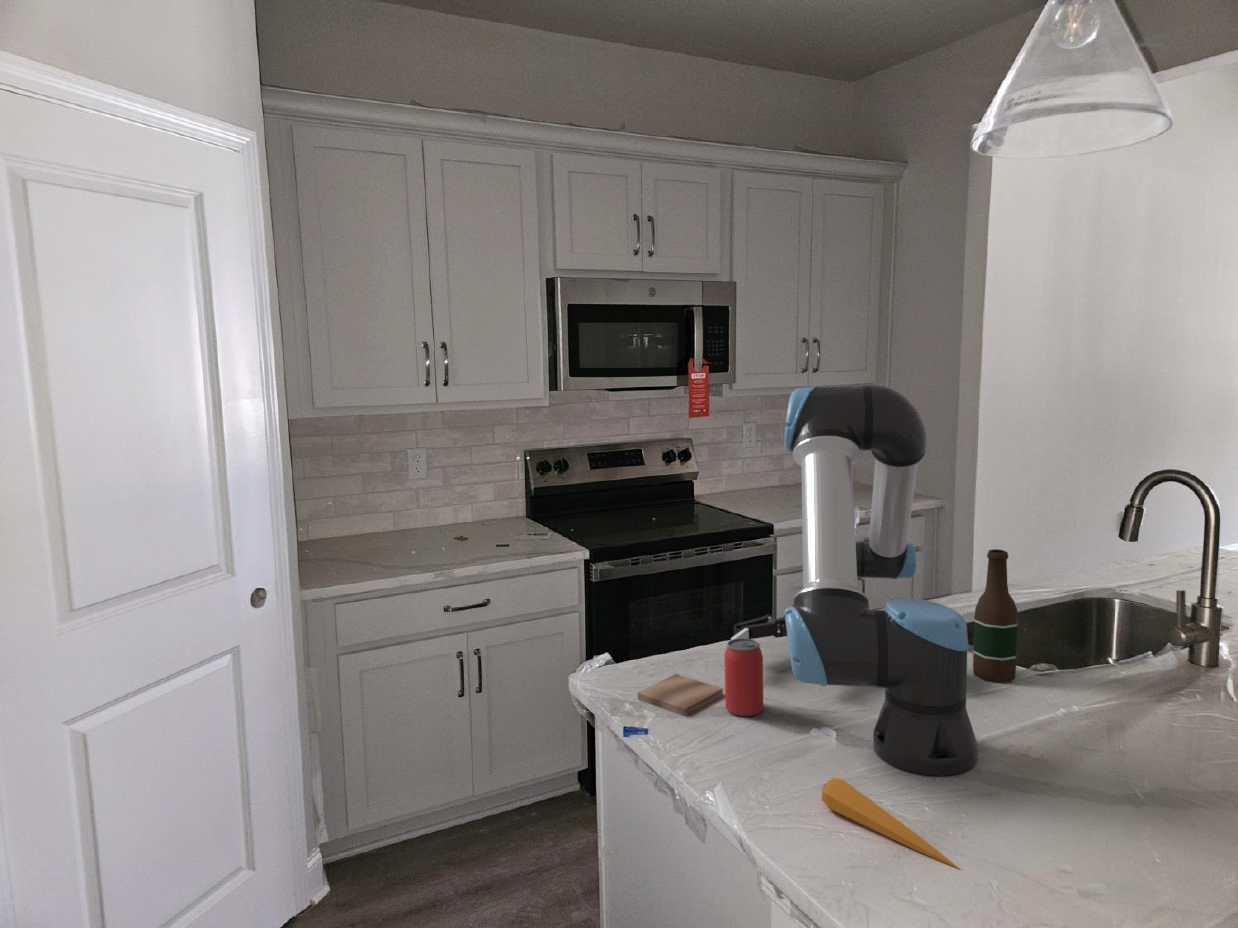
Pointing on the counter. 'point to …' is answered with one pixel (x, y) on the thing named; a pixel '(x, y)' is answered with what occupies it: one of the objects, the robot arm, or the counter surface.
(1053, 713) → the counter surface
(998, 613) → the beer bottle
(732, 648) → the beer can
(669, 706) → the walnut board
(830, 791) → the carrot
